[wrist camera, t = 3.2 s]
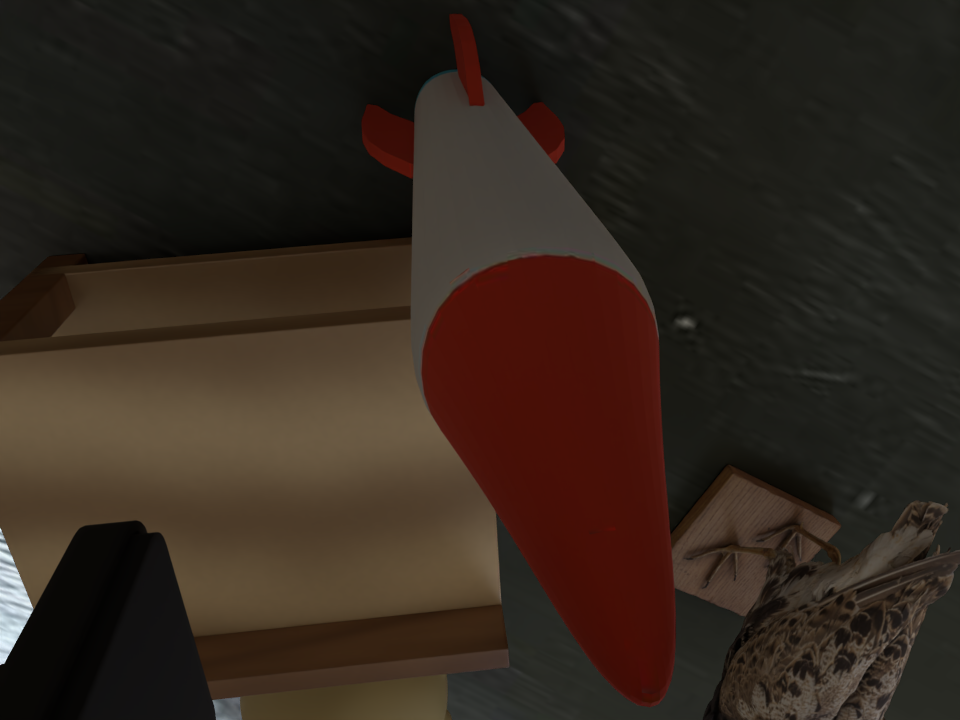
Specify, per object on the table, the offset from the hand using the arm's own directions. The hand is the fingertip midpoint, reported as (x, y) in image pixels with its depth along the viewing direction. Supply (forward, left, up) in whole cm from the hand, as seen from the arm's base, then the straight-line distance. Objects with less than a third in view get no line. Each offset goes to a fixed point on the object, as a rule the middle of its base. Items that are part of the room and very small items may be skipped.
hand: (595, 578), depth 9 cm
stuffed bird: (+25, +14, -29) cm, 40 cm away
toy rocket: (0, 0, -29) cm, 29 cm away
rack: (+12, -9, -28) cm, 32 cm away
